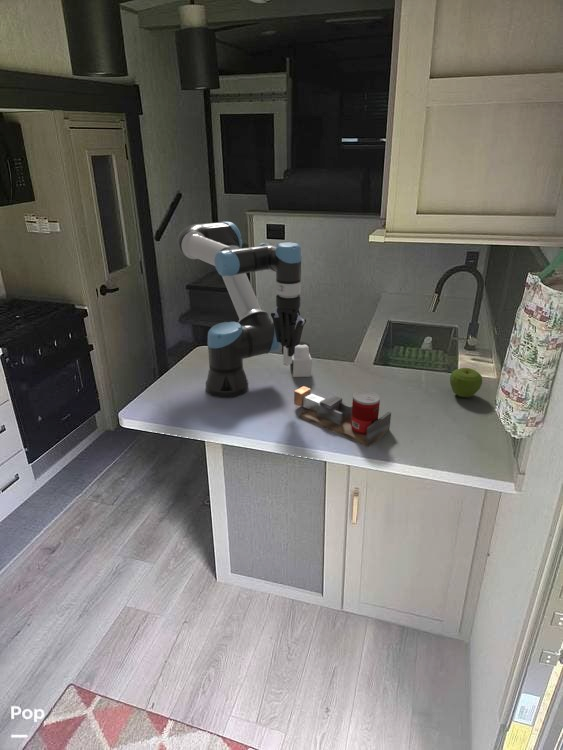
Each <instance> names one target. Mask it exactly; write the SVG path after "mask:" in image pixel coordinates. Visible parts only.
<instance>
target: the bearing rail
mask: <svg viewBox="0 0 563 750" xmlns="http://www.w3.org/2000/svg"><path fill="white" fill-rule="evenodd" d="M338 404H340V405H339V411H337V410H334V409H332V408H333V407H335V406H336V405H338ZM298 415H299V416H298V417H299V419H303V420H305V421H308V422H310V423H312V424H314V425H317V426H320V427H321V428H324V429H325V430H328V431H331V432H333V433H335V434H337V435H340V436H343V437H344V438H348V439H350V440H352V441H354V442H357V443H359V444H362V445H363V446H366V447H370V446H371V445H373V444H374V443H375V442H377V441H378V440H379V439H380V438H381V437H383V436H384V435H385V434H387V433H388V432H389V431H390V425H391V420H392V419H391V418H392V412H391V411H387V412H386V413H385V414H383V415H382V416H380V417H378V420H377V421H375V422H374V423H373V424H371V425H370V426H369V427H367V435H364V434H359V433H356V432H355V431H353V430H352V427H351V417H352V405H350V404H347V403H345V402H343V398H342V397H339V396H336V395H334V394H330V395H329V396H327V397H325V399H324V400H322V401H321V402H320V404H318V405H317V412H315V411H313V410H310V409H308V408H306V409H304V410H303V411H301V412H300V413H298Z"/></svg>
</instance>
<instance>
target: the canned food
mask: <svg viewBox="0 0 563 750" xmlns="http://www.w3.org/2000/svg"><path fill="white" fill-rule="evenodd" d="M380 402H381V398H380V396H379V394H377V393H376V392H373V391H369V390H368V391H367V390H361V391H356V392H355V393H353V396H352V404H351V406H352V417H351V427H352V430H353V431H355V432H356V433H359V434H364V435H367V427H369V426H370V425H371V424H373V423H374V422H375V421H377V420H378V419H379V412H380V406H381V405H380V404H381V403H380Z"/></svg>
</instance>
